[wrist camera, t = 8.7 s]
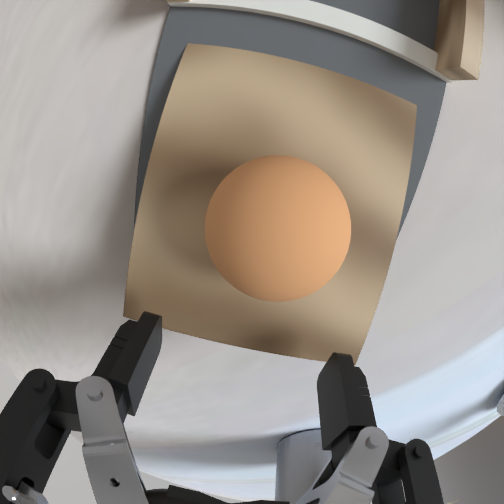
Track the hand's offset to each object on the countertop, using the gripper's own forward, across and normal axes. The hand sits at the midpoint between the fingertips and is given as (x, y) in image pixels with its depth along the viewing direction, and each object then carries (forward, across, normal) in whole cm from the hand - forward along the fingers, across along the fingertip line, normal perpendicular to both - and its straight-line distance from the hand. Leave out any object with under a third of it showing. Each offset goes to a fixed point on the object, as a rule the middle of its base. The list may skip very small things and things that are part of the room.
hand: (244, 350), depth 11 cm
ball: (+1, 0, -5) cm, 5 cm away
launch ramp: (+6, 0, -5) cm, 8 cm away
